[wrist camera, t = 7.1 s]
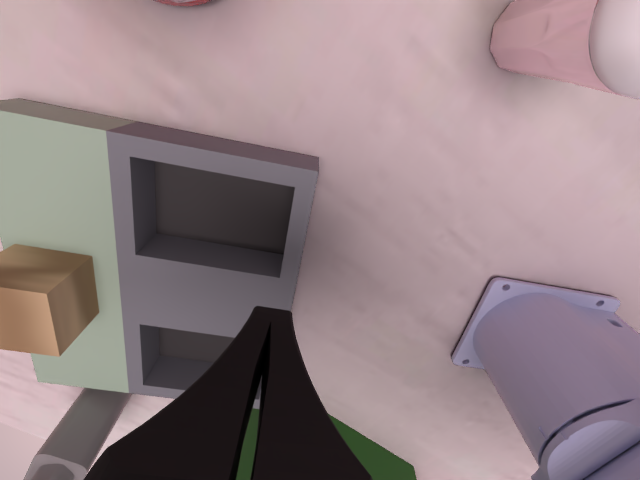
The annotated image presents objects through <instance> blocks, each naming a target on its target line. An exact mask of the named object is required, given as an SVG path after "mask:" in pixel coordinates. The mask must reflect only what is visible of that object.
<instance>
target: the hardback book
mask: <svg viewBox="0 0 640 480" xmlns="http://www.w3.org/2000/svg"><path fill="white" fill-rule="evenodd" d="M328 415H329V414H328ZM329 417H330V418H331V420H332V421H333V423H334V425H335V426H336V428H337V430H338V431H339V433H340V434H341V436H342V437H343V439H344V440H345V442H346V443H347V445H348V446H349V448H350V449H351V450H352V452H353V453H354V454H355V456H356V457H357V458H358V460H359V461H360V462H361V464H362V465H363V466H364V467H365V469H366V470H367V471H368V473H369V474H370V475H371V476H372V479H373V480H417V479H416V475H415V471H414V467H413V466H412V465H411V464H409V463H407V462H406V461H404V460H403V459H401V458H399V457H398V456H396V455H394V454H393V453H391V452H389V451H388V450H386V449H385V448H383V447H381V446H380V445H378V444H376V443H375V442H373V441H372V440H370V439H368V438H367V437H365V436H363V435H362V434H360V433H359V432H357V431H355V430H354V429H352V428H350V427H349V426H347V425H345V424H344V423H342V422H341V421H339V420H337V419H336V418H334V417H332V416H331V415H329ZM258 418H259V409H255V408H253V409H252V412H251V416H250V419H249V423H248V426H247V430H246V434H245V438H244V442H243V446H242V451H241V457H240V462H239V467H238V472H237V477H236V480H250V478H251V472H252V466H253V460H254V454H255V448H256V440H257V430H258Z"/></svg>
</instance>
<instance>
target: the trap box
mask: <svg viewBox="0 0 640 480" xmlns="http://www.w3.org/2000/svg"><path fill="white" fill-rule="evenodd" d="M318 173H319V157H314V156H309V155H304V154H299V153H294V152H289V151H284V150H279V149H274V148H269V147H264V146H258V145H253V144H248V143H243V142H238V141H233V140H228V139H223V138H218V137H213V136H208V135H202V134H197V133H192V132H187V131H182V130H177V129H172V128H167V127H162V126H157V125H152V124H146V123H141V122H136V121H131V120H126V119H121V118H116V117H111V116H106V115H101V114H96V113H90V112H85V111H80V110H75V109H70V108H65V107H60V106H55V105H50V104H45V103H40V102H34V101H29V100H24V99H19V98H18V99H8V100H0V238H1V242H2V246H3V250H5V249H6V248H8V247H10V246H12V245H13V244H20V245H26V246H32V247H39V248H45V249H51V250H58V251H64V252H70V253H77V254H83V255H89V256H92V258H93V266H94V274H95V282H96V290H97V298H98V306H99V313H98V315H97V316H96V317H95V318H94V319H93V320H92V321H91V322H90V324H89V325H88V326H87V327H86V328H85V329H84V330H83V331H82V333H81V334H80V335H79V336H78V337H77V338H76V339H75V340H74V341H73V343H72V344H71V345H70V346H69V347H68V348H67V349H66V350H65V352H64V353H63V354H62V355H61V356H60V357H57V356H49V355H42V354H34V353H31V357H32V361H33V365H34V368H35V372H36V376H37V380H38V382H43V383H51V384H59V385H67V386H76V387H84V388H92V389H100V390H108V391H116V392H124V393H133V394H141V395H149V396H157V397H165V398H173V399H176V398H177V397H179V396H180V395H181V394H182V393H183V392H184V391H185V390H187V389H188V388H189V387H190V386H191V385H192V384H193V383H194V382H195V381H196V380H198V379H199V378H200V377H201V376H202V375H203V374H204V373H205V372H206V371H207V370H208V369H209V368H210V367H211V365H212V364H213V363H214V362H215V361H216V360H217V359H218V358H219V357H220V355H221V354H222V353H223V352H224V351H225V350H226V348H227V347H228V346H229V345H230V344H231V342H232V341H233V340H234V338H235V337H236V336H237V334H238V333H239V332H240V330H241V329H242V327H243V326H244V324H245V323H246V321H247V320H248V318H249V316H250V315H251V313H252V311H253V309H254V307H256V306H263V307H269V308H276V309H282V310H289V311H290V312H291V308H292V303H293V298H294V293H295V288H296V283H297V278H298V273H299V268H300V263H301V258H302V253H303V248H304V243H305V238H306V233H307V228H308V223H309V218H310V213H311V208H312V203H313V198H314V193H315V188H316V183H317V178H318ZM261 382H262V376H261V380H260V384H259V387H258V391H257V394H256V398H255V401H254V405H253V408H255V409H259V406H260V394H261Z"/></svg>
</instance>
